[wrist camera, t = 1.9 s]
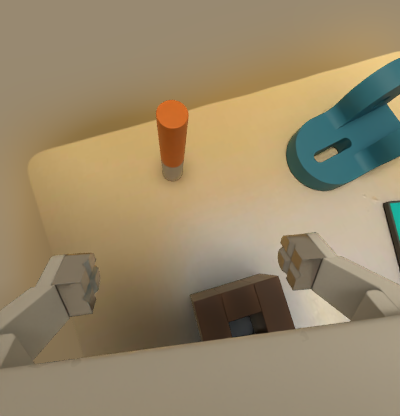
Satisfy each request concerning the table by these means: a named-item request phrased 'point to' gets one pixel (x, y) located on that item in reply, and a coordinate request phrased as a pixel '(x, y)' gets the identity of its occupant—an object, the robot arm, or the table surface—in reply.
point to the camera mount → (350, 134)
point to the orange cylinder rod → (172, 137)
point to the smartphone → (394, 223)
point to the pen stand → (242, 307)
